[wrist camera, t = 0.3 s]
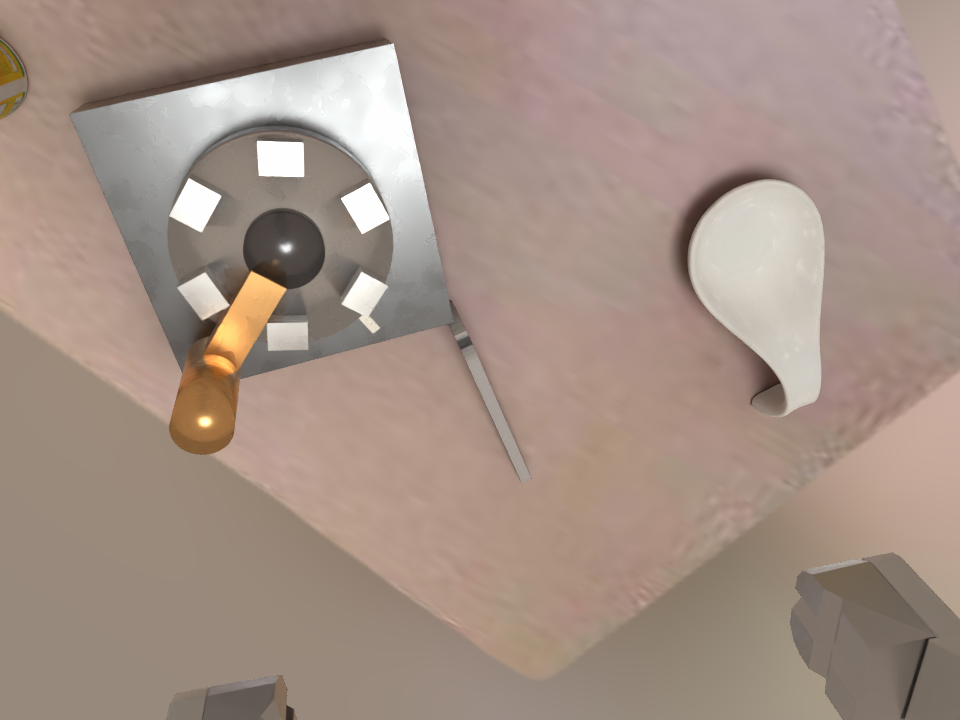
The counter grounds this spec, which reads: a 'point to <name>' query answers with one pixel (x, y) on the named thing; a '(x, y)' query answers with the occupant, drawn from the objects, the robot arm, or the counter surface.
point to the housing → (270, 102)
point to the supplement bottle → (11, 80)
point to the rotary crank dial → (269, 260)
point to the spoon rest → (766, 282)
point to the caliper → (487, 394)
